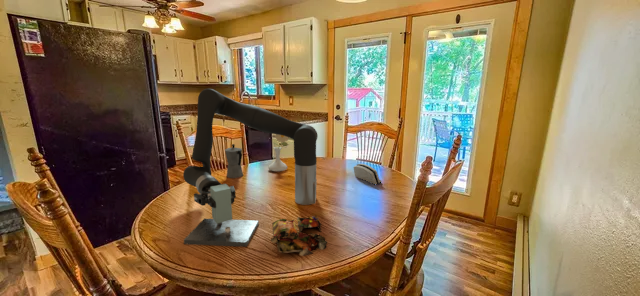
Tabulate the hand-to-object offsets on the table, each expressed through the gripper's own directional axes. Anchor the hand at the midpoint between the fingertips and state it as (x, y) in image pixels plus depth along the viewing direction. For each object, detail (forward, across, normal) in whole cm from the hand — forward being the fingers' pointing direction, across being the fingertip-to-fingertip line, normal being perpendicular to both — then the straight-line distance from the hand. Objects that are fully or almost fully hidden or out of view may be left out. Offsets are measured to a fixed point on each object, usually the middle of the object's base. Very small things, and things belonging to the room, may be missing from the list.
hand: (223, 203), depth 85 cm
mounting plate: (-2, 0, +12) cm, 12 cm away
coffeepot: (-59, +25, +13) cm, 65 cm away
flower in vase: (-54, +50, +12) cm, 75 cm away
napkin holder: (-12, +81, +12) cm, 83 cm away
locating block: (-3, 0, +6) cm, 7 cm away
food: (+14, +20, +13) cm, 27 cm away
